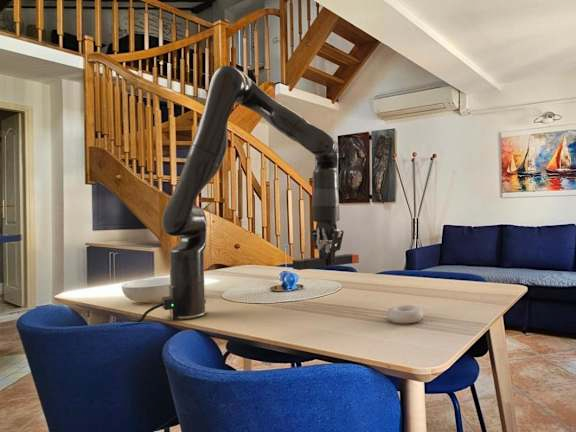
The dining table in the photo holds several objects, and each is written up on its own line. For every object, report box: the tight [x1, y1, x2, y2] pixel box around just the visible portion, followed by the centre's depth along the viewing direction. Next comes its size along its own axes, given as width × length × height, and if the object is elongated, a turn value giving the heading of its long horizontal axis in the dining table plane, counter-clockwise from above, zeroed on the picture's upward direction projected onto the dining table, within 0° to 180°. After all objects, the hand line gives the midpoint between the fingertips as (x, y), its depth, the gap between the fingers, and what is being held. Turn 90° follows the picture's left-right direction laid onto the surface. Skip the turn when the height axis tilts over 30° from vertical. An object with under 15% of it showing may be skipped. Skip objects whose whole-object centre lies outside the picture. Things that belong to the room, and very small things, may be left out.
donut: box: [386, 304, 424, 325], centre depth 115 cm, size 10×4×10 cm
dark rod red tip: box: [292, 253, 360, 271], centre depth 119 cm, size 20×4×2 cm, turn 131°
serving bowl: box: [120, 276, 170, 304], centre depth 149 cm, size 21×21×7 cm
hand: (327, 264), depth 119 cm, fingers closed on dark rod red tip, 3 cm apart
